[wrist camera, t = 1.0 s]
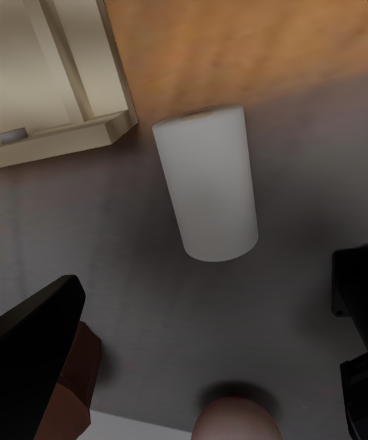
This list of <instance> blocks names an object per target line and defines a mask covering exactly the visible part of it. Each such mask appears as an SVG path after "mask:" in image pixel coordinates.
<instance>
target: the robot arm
mask: <svg viewBox="0 0 368 440" xmlns="http://www.w3.org/2000/svg"><path fill="white" fill-rule="evenodd" d="M340 257H343V258H342V259H339V258H340ZM85 298H86V296H85V292H84V289H83V287H82V285H81V283H80V281H79V279H78V277H77V276H76V275H64V276H61V277H60V278H58V279H57V280H55V281H54V282H52V283H51V284H49V285H48V286H46V287H45V288H43V289H41V290H40V291H38V292H37V293H35V294H34V295H32V296H31V297H29V298H28V299H26V300H25V301H23V302H21V303H20V304H18V305H17V306H15V307H14V308H12V309H11V310H9V311H8V312H6V313H5V314H3V315H1V316H0V440H34V438H35V435H36V433H37V430H38V428H39V425H40V423H41V421H42V418H43V416H44V413H45V411H46V408H47V406H48V403H49V401H50V398H51V396H52V393H53V391H54V388H55V386H56V383H57V381H58V378H59V376H60V373H61V371H62V368H63V366H64V363H65V361H66V358H67V356H68V354H69V351H70V348H71V346H72V343H73V340H74V337H75V334H76V330H77V327H78V323H79V320H80V317H81V313H82V310H83V306H84V303H85ZM332 312H333V314H334V316H336V317H350V316H351V318H352V320H353V322H354V324H355V326H356V328H357V330H358V332H359V334H360V336H361V338H362V340H363V342H364V345H365V347H366V349H367V351H368V248H362V249H352V250H343V251H337V252H336V253H335V254H334V255H333V274H332ZM340 371H341V379H342V387H343V396H344V404H345V412H346V419H347V424H348V431H349V434H350V436H351V438H352V439H353V440H368V352H367V353H365V354H363V355H361V356H359V357H357V358H355V359H353V360H351V361H346V362H344V363H342V364H340Z"/></svg>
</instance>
